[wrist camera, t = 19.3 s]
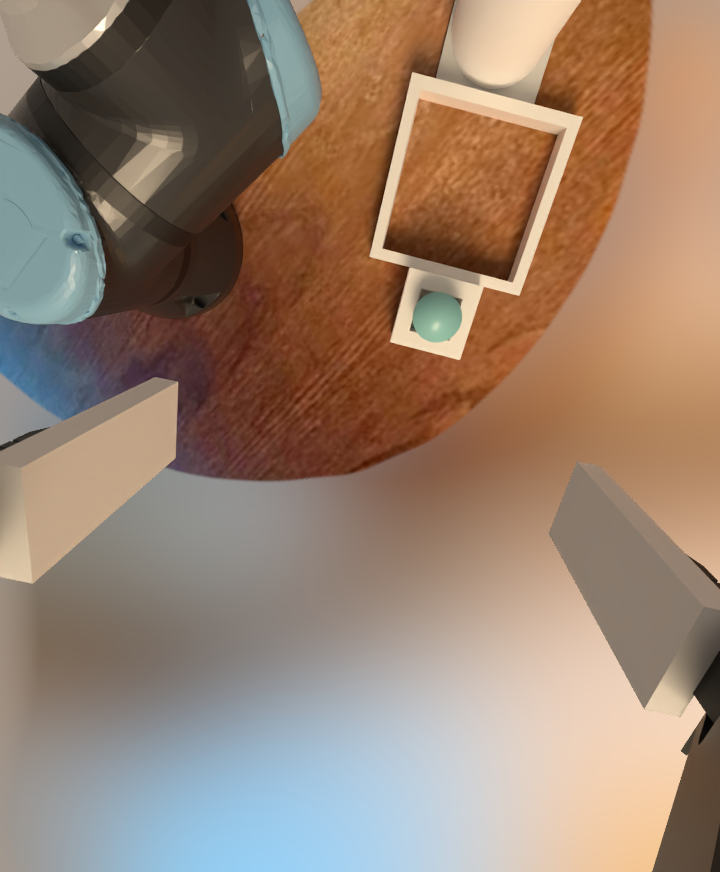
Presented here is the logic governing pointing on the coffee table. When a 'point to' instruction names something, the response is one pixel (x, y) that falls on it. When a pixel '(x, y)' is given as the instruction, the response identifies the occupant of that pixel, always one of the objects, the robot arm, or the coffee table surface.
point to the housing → (451, 279)
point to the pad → (519, 91)
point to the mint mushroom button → (437, 317)
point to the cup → (505, 37)
